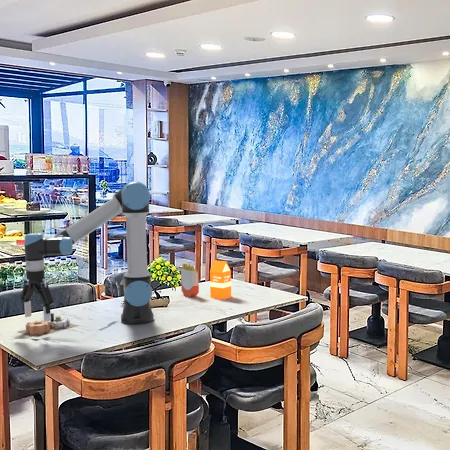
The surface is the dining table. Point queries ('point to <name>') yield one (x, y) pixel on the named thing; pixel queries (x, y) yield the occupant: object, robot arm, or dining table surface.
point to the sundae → (122, 286)
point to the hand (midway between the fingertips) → (37, 318)
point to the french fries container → (189, 280)
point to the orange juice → (220, 280)
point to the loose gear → (37, 327)
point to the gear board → (49, 330)
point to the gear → (59, 324)
